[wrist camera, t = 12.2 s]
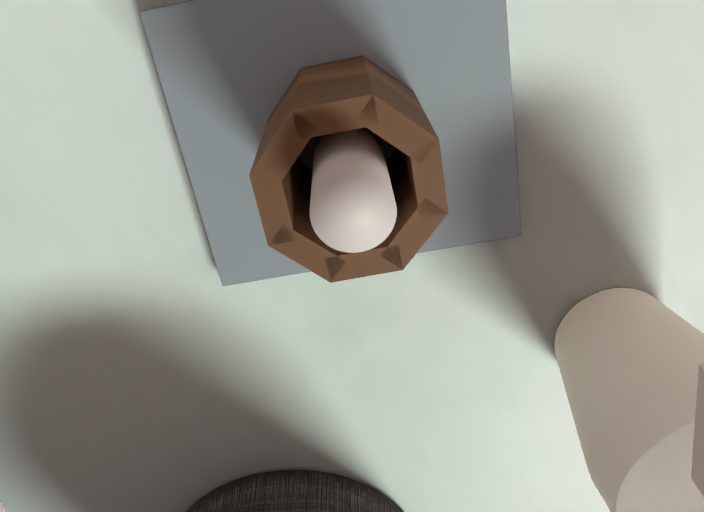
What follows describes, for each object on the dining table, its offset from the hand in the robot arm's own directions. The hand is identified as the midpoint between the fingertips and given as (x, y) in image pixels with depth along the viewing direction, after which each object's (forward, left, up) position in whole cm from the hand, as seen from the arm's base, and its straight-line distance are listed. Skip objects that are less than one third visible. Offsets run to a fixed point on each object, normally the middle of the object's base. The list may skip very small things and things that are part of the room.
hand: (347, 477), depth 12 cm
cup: (+14, -15, -23) cm, 30 cm away
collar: (+1, 0, -22) cm, 22 cm away
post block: (+1, 0, -23) cm, 23 cm away
